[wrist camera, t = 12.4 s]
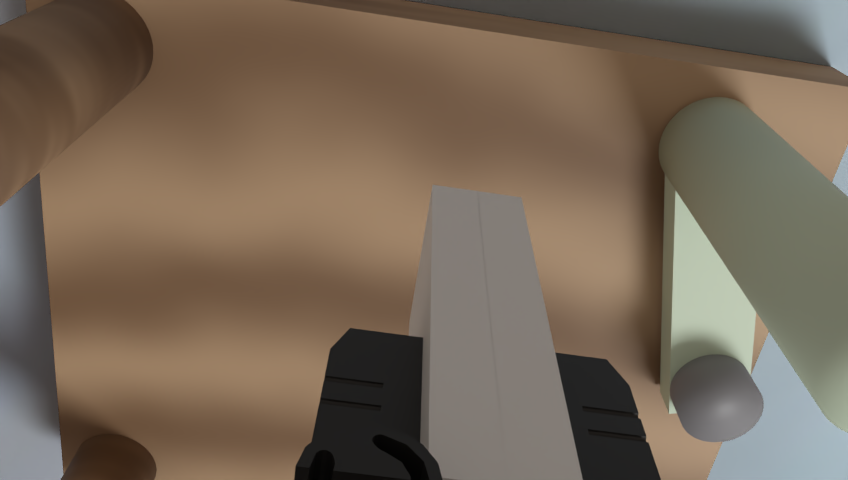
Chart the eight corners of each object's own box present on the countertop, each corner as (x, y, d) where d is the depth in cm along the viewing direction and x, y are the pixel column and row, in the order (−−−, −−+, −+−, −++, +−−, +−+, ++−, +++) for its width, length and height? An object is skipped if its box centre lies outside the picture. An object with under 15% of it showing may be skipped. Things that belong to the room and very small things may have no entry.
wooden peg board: (654, 519, 34) (772, 891, 22) (90, 452, 33) (-107, 810, 21) (832, 67, 25) (1193, 286, 13) (60, -53, 24) (-319, 70, 12)
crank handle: (740, 391, 28) (908, 698, 18) (654, 398, 28) (772, 706, 18) (765, 91, 23) (1013, 290, 13) (659, 103, 23) (825, 308, 13)
